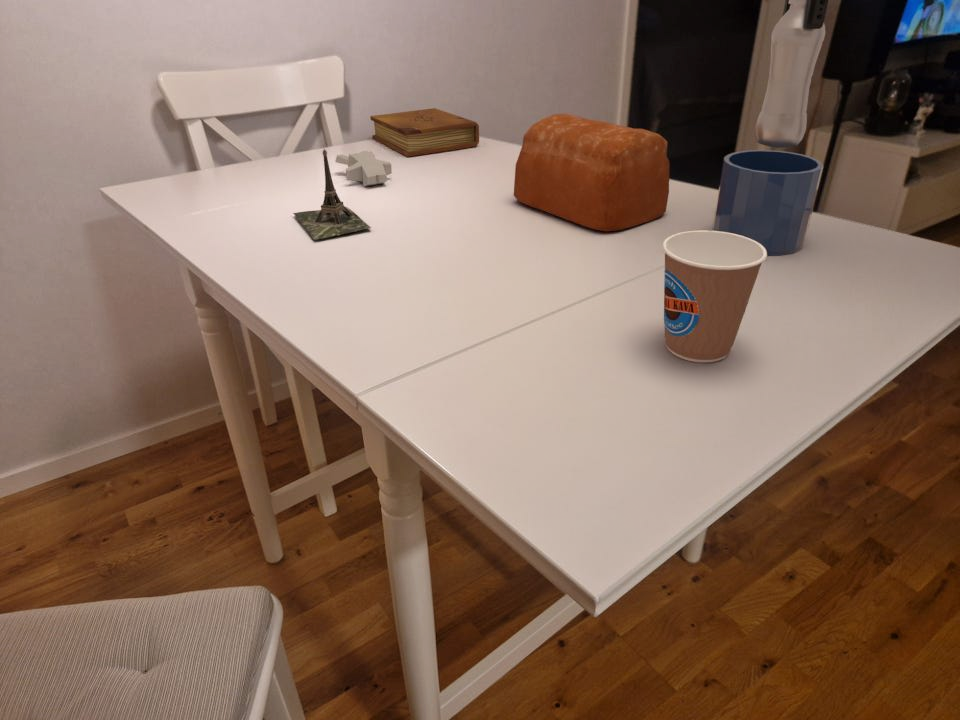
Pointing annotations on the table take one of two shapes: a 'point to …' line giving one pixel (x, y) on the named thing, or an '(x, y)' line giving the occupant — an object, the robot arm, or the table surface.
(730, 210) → the blue bin
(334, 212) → the eiffel tower figurine
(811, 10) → the robot arm
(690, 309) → the coffee cup
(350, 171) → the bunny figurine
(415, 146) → the diary
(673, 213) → the table surface
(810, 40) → the plastic bottle
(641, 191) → the bread
